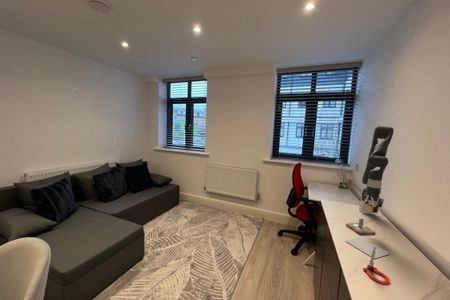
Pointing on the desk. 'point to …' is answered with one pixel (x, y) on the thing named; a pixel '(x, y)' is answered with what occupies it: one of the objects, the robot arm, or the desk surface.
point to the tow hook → (375, 270)
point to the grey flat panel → (367, 247)
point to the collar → (369, 208)
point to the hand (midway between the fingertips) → (370, 210)
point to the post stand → (360, 228)
